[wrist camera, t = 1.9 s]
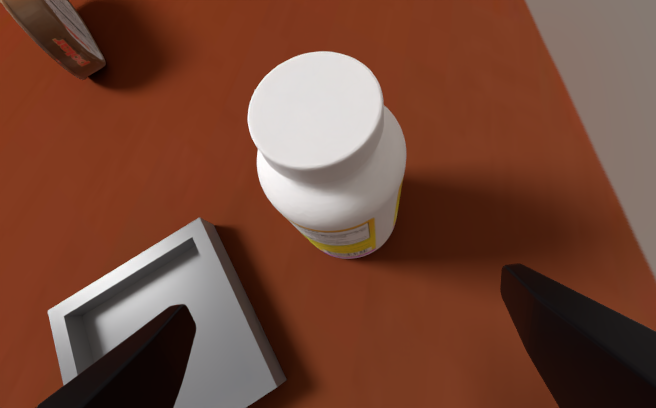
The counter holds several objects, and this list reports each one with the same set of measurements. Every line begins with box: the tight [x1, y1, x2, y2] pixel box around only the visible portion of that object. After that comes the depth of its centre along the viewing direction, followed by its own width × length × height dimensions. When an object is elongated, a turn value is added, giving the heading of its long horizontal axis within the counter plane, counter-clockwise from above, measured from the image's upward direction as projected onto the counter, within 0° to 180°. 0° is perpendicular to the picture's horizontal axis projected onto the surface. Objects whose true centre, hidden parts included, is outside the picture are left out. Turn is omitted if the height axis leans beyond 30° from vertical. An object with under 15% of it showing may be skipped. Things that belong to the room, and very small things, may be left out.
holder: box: [48, 217, 287, 408], centre depth 21 cm, size 12×12×2 cm
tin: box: [0, 0, 106, 80], centre depth 29 cm, size 15×3×8 cm, turn 36°
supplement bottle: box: [248, 52, 406, 259], centre depth 16 cm, size 7×7×13 cm
